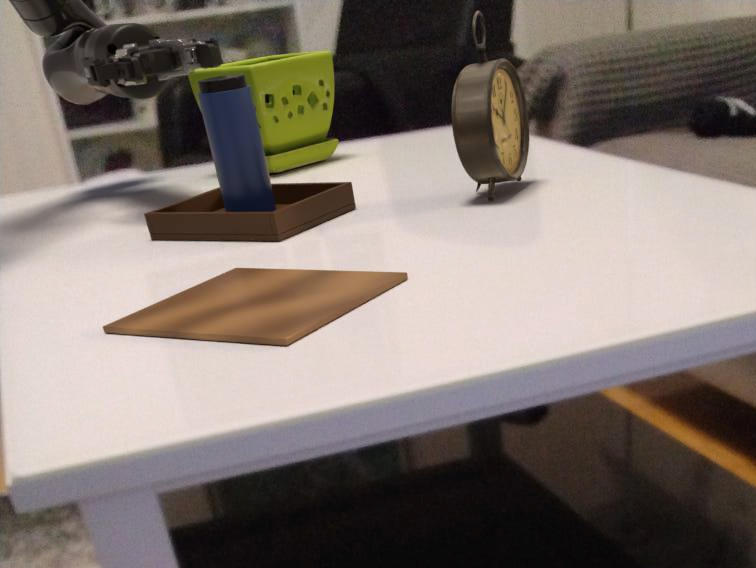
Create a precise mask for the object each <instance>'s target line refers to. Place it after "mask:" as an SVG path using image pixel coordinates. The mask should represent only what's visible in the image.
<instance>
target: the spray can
mask: <svg viewBox="0 0 756 568" xmlns="http://www.w3.org/2000/svg"><path fill="white" fill-rule="evenodd" d="M198 85H199V89H200V92H199V93H198V98H199V103H200V107H201V110H200V112H201V111H202V112H201V115H202V119H203V123H204V127H205V132H206V135H207V136H206V137H207V139H208V144H209V148H210V152H211V156H212V160H213V165H214V169H215V173H216V176H217V177H216V178H217V182H218V185H219V187H220V190H221V194H222V198H223V202H224V206H225V211H226V212H273V211H276V210H277V209H276V204H275V199H274V195H273V190H272V185H271V184H272V183H271V181H272V180H271V177H270V173H269V171H268V167H267V162H266V157H265V153H264V148H263V143H262V139H261V134H260V129H259V125H258V120H257V115H256V111H255V106H254V101H253V97H252V92H251V87H250V85H247V83H246V78H245V75H244V74H235V75H226V76H219V77H213V78H208V79H203V80H200V81H198Z"/></svg>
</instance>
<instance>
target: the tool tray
mask: <svg viewBox="0 0 756 568" xmlns="http://www.w3.org/2000/svg"><path fill="white" fill-rule="evenodd" d="M271 185H272V190H273V195H274V199H275V204H276V209H277V210H276V211H273V212H226V211H225V206H224V202H223V198H222V194H221V190H220V186H219V187H216V188H213V189H210V190H208V191H205V192H201V193H199V194H196V195H193V196H191V197H188V198H185V199H182V200H179V201H175V202H174V203H170V204H167V205H164V206H162V207H158V208H157V209H154V210H153V209H152V210H151V211H148V212H147V211H146V212H144V213H143V215H144V219H145V222H146V223H145V224H146V226H147V229H148V232H149V237H150V240H152V241H217V242H218V241H224V242H225V241H226V242H227V241H229V242H231V241H232V242H281V241H283V240H286V239H289V238H290V237H293V236H296V235H297V234H299V233H302V232H304V231H307V230H309V229H311V228H313V227H316V226H318V225H320V224H322V223H325V222H327V221H329V220H332V219H334V218H336V217H338V216H341V215H343V214H346V213H348V212H350V211H352V210H355V209H357V205H356V200H355V194H354V188H353V183H352V181H333V182H331V181H329V182H285V183H284V182H282V183H281V182H280V183H279V182H278V183H271Z"/></svg>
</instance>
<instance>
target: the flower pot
mask: <svg viewBox="0 0 756 568" xmlns="http://www.w3.org/2000/svg"><path fill="white" fill-rule="evenodd" d="M235 74H244V75H245V78H246V83H247V85H250V87H251V92H252V97H253V101H254V106H255V111H256V115H257V120H258V125H259V129H260V134H261V139H262V143H263V148H264V153H265V157H266V162H267V167H268V171H269V174H273V173H274V174H275V173H276V174H277V173H278V174H279V173H283V172H284V171H288V170H292V169H296V168H300V167H303V166H306V165H310V164H314V163H317V162H318V163H319V162H323V161H324V162H325V161H327V160H328V159H330V158H331V157H332V156H333V154H334V153H335V152H336V151H337V148H338V146H339V139H338V138H327V137H328V133H329V130H330V127H331V123H332V117H333V112H334V111H333V110H334V104H335V69H334V60H333V54H332V51H330V50H318V51H316V50H315V51H305V52H292V53H284V54H283V53H282V54H273V55H267V56H260V57H254V58H248V59H243V60H239V61H234V62H227V63H223V64H221V66H219V67H215V68H208V69H203V68H199V69H195V72H194V73H192V74H189V75H187V76H188V81H189V84H190V87H191V90H192V93H193V96H194V99H195V101H196V103H197V106H198V108H199V111H200V113H202V111H201V107H200V103H199V98H198V93H199V92H200V89H199V85H198V81H200V80H203V79H208V78H213V77H219V76H226V75H235ZM293 91H294V92H293ZM266 95H268V100H269V101H268V102H266Z"/></svg>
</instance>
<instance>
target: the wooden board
mask: <svg viewBox="0 0 756 568" xmlns="http://www.w3.org/2000/svg"><path fill="white" fill-rule="evenodd" d="M408 279H409V276H408V272H406V271H404V272H403V271H402V272H401V271H373V270H372V271H371V270H370V271H369V270H367V271H366V270H334V269H333V270H331V269H300V268H299V269H297V268H296V269H295V268H265V267H264V268H262V267H261V268H260V267H234V268H232V269H229V270H228V271H225V272H223V273H221V274H218V275H216V276H214V277H211V278H209V279H207V280H204V281H202V282H200V283H198V284H196V285H194V286H191V287H189V288H187V289H185V290H182V291H180V292H177V293H175V294H173V295H171V296H168V297H166V298H164V299H162V300H160V301H158V302H155V303H153V304H151V305H148V306H145V307H144V308H141V309H140V310H137V311H134V312H133V313H130V314H128V315H125V316H124V317H121V318H118V319H117V320H114V321H112V322H109V323H108V324H105V325H103V326H102V329H103V333H105V334H117V335H130V336H131V335H132V336H145V337H161V338H175V339H188V340H199V341H200V340H201V341H213V342H214V341H215V342H229V343H243V344H255V345H257V344H258V345H269V346H271V345H272V346H285V347H286V346H289V345H291V344H293V343H294V342H296V341H298V340H299V339H302V338H303V337H305V336H306V335H308V334H310V333H312V332H314V331H316V330H318V329H320V328H321V327H323V326H325V325H327V324H329V323H330V322H332V321H334V320H336V319H338V318H339V317H341V316H343V315H345V314H346V313H348V312H351V311H352V310H354V309H356V308H357V307H360V306H361V305H362V304H364V303H366V302H368V301H370V300H372V299H374V298H375V297H377V296H380V295H381V294H382V293H384V292H386V291H389V290H390V289H392V288H393V287H395V286H397V285H399V284H400V283H402V282H404V281H406V280H408Z"/></svg>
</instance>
